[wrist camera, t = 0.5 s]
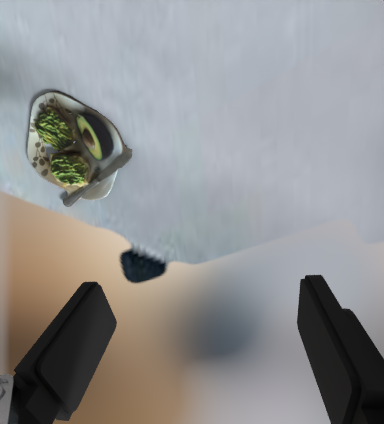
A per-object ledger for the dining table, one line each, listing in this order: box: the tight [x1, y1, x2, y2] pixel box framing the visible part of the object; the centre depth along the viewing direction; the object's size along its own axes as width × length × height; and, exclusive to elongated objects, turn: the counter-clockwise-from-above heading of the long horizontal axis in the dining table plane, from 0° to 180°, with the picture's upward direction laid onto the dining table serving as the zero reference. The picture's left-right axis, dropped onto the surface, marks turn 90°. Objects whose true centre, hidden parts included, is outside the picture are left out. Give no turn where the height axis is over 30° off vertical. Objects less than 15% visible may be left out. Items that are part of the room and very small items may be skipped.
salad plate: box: [27, 91, 132, 207], centre depth 37 cm, size 19×18×5 cm
